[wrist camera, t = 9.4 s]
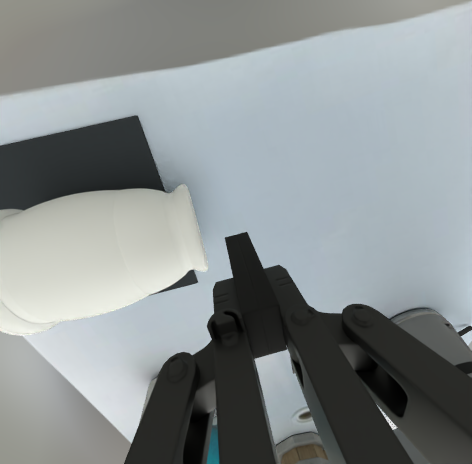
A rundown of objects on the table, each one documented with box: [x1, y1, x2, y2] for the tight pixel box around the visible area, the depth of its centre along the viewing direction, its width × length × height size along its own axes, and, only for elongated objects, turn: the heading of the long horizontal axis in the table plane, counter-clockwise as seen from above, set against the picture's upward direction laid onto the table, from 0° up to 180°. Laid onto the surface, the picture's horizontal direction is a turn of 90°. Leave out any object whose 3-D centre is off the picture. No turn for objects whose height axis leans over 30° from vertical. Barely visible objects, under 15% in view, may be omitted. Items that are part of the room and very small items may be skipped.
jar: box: [0, 184, 208, 335], centre depth 19 cm, size 11×10×15 cm
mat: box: [0, 116, 198, 296], centre depth 24 cm, size 20×20×1 cm
